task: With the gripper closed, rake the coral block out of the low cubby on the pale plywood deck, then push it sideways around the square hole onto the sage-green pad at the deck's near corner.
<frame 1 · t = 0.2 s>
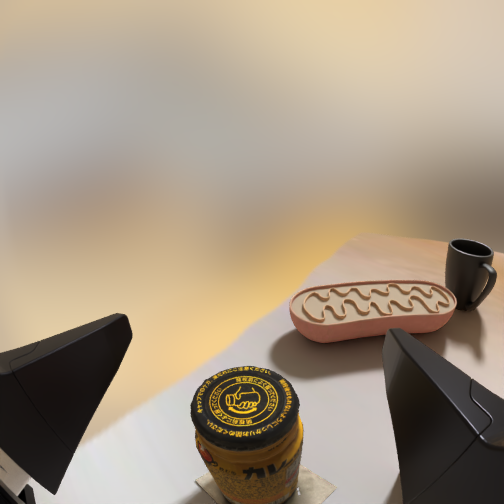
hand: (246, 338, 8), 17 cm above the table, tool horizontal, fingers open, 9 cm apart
mitochondrion model: (373, 331, 33), on the table
condiment: (265, 490, 15), on the table
mug: (463, 308, 33), on the table
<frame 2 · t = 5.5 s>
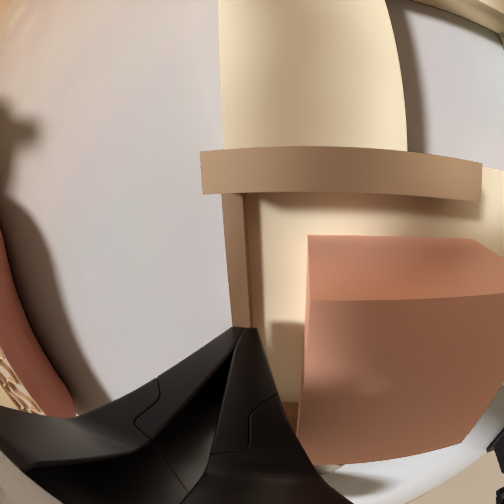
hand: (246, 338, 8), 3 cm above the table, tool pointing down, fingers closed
mitochondrion model: (24, 315, 17), on the table
coral block: (387, 319, 9), point 2 cm above the table, touching deck, gripper
cubby: (339, 336, 8), on the deck, point 2 cm above the table
deck: (493, 193, 8), on the table
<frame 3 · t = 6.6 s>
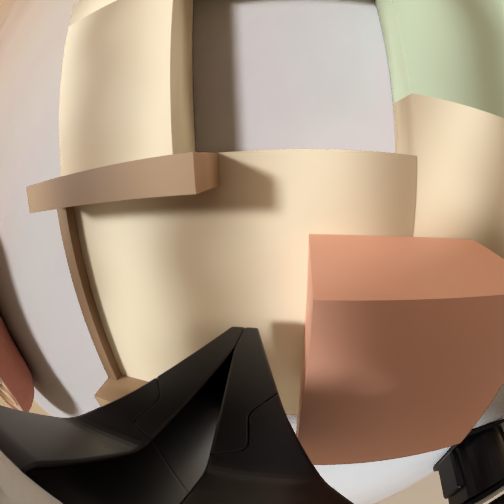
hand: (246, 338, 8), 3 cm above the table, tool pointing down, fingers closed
coral block: (388, 319, 9), point 2 cm above the table, touching gripper
cubby: (133, 320, 9), on the deck, point 2 cm above the table
deck: (344, 179, 9), on the table
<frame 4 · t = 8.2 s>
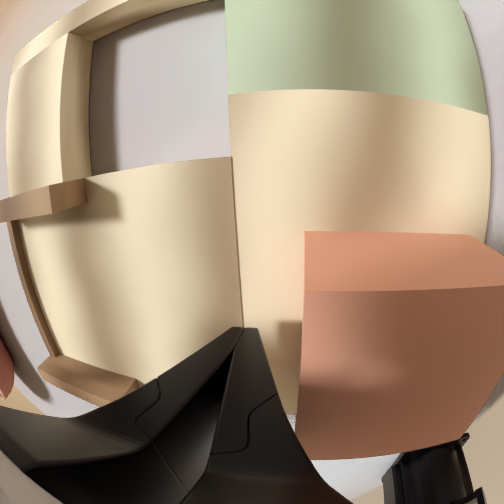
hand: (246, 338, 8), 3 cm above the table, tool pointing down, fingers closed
coral block: (385, 314, 9), point 2 cm above the table, touching deck, gripper
cubby: (50, 305, 10), on the deck, point 2 cm above the table
deck: (195, 186, 10), on the table
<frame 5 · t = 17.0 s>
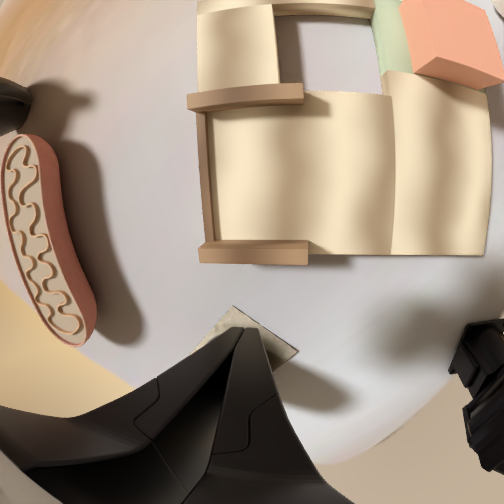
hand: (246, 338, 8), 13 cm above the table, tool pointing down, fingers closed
mitochondrion model: (63, 233, 25), on the table
coral block: (440, 46, 12), point 2 cm above the table, touching deck
cubby: (250, 174, 17), on the deck, point 2 cm above the table
deck: (358, 112, 17), on the table
condiment: (240, 352, 25), on the table
mug: (28, 105, 21), on the table
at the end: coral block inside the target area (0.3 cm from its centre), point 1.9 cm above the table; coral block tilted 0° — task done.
